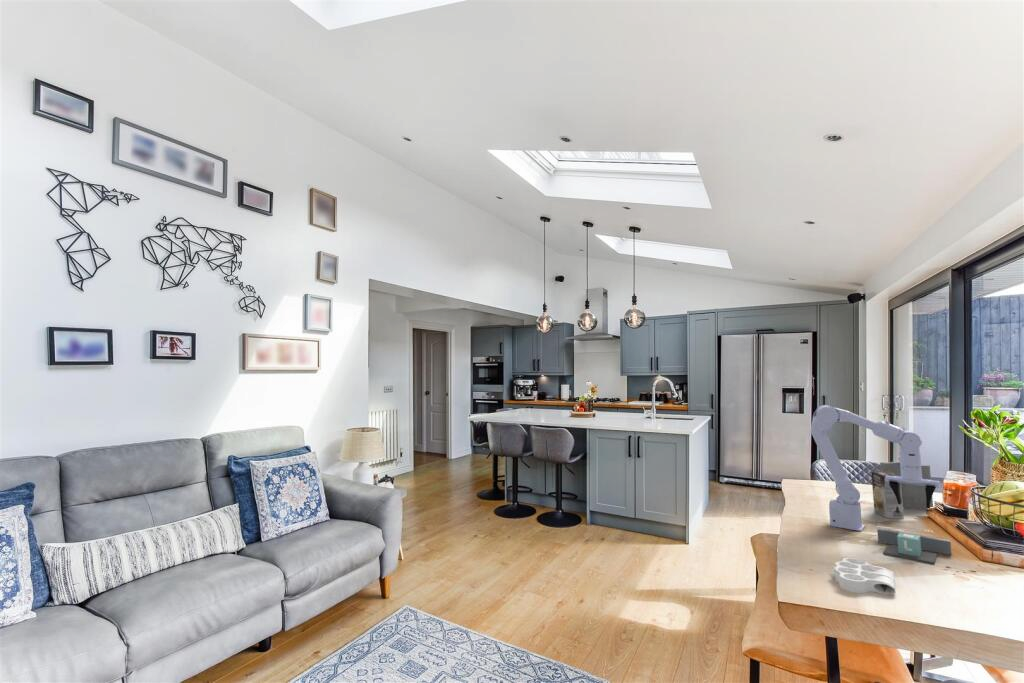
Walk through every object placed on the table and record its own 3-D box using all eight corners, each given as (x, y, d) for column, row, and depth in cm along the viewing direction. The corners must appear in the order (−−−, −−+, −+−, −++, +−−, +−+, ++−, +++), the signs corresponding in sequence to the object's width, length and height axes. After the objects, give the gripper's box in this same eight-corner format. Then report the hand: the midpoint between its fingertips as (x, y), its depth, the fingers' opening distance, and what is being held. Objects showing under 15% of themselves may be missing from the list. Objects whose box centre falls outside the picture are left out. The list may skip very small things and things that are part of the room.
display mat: (883, 554, 150) (882, 552, 150) (887, 546, 156) (887, 544, 156) (934, 564, 141) (933, 562, 141) (937, 555, 147) (936, 553, 148)
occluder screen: (878, 541, 160) (877, 529, 161) (879, 540, 162) (878, 528, 162) (951, 555, 148) (949, 541, 148) (951, 553, 149) (950, 540, 149)
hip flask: (932, 508, 194) (928, 458, 195) (934, 511, 191) (930, 460, 192) (883, 503, 203) (879, 455, 204) (884, 506, 199) (880, 457, 201)
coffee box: (873, 511, 193) (870, 470, 194) (891, 511, 191) (888, 470, 192) (886, 518, 184) (882, 475, 185) (905, 519, 182) (901, 475, 183)
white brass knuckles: (896, 602, 120) (826, 588, 129) (894, 577, 135) (831, 565, 144) (895, 589, 121) (825, 575, 129) (893, 564, 135) (831, 554, 144)
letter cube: (898, 552, 149) (897, 536, 149) (900, 548, 153) (899, 531, 153) (919, 556, 145) (918, 539, 146) (921, 552, 149) (920, 535, 149)
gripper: (882, 465, 171) (885, 504, 170) (937, 470, 161) (940, 511, 160) (886, 462, 176) (889, 500, 175) (938, 466, 166) (942, 507, 165)
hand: (913, 505), depth 168 cm, fingers open, 7 cm apart
